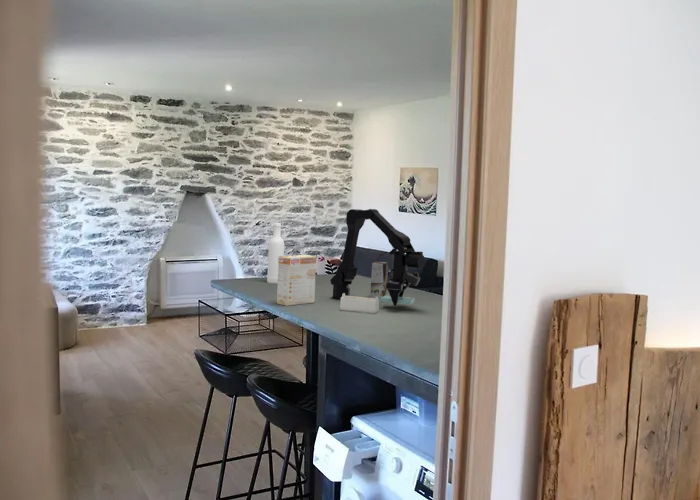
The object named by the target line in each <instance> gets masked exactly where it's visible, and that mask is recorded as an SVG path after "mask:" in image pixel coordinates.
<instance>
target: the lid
mask: <svg viewBox="0 0 700 500" xmlns="http://www.w3.org/2000/svg"><path fill="white" fill-rule="evenodd" d="M380 302H384V303H391V304H393V302H392V299H391V296H390V295H387V294H386V295H385V296H383V297H382V298H381V299H380ZM413 303H415V298H414V297H405V296H403V297H398V301H397V304H402V305H413Z"/></svg>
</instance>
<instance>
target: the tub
mask: <svg viewBox="0 0 700 500" xmlns="http://www.w3.org/2000/svg"><path fill="white" fill-rule="evenodd" d="M339 303H340V304H339V305H340V307H339V308H340V309H339V310H340V311H343V310H344V311H346V312H352V311H353V313H361V312H363V313H364V314H372V315H375V314H377V313H378V312H379V308H380V307H379V306H380V305H379V303H380V299H378V297H375V298H370V297H365V296H354V295H353V296H352V295H350V296H345V293H343V294H342V297H341V299H340V302H339ZM363 313H362V314H363Z"/></svg>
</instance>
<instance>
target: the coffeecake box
mask: <svg viewBox="0 0 700 500" xmlns="http://www.w3.org/2000/svg"><path fill="white" fill-rule="evenodd" d="M316 268H317V256H315V255H310V254H301V255H300V254H297V255H284V256H279V259H278V284H277V292H276V304H278V305H282V306H286V307H288V306H295V305H304V304H313V303H315V296H316V293H315V292H316V270H317V269H316Z"/></svg>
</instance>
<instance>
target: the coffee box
mask: <svg viewBox="0 0 700 500" xmlns="http://www.w3.org/2000/svg"><path fill="white" fill-rule="evenodd" d="M371 265H372V266H371V277H370V294H369V295H370V297H369V298H375V297H378V299H379V300H381V298H382V297H383V296H385V295H387V294H388V293H387V292H388V290H387V288H386V283H387V282H388V274H389V262H388V261H374V262H372V263H371Z"/></svg>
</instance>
